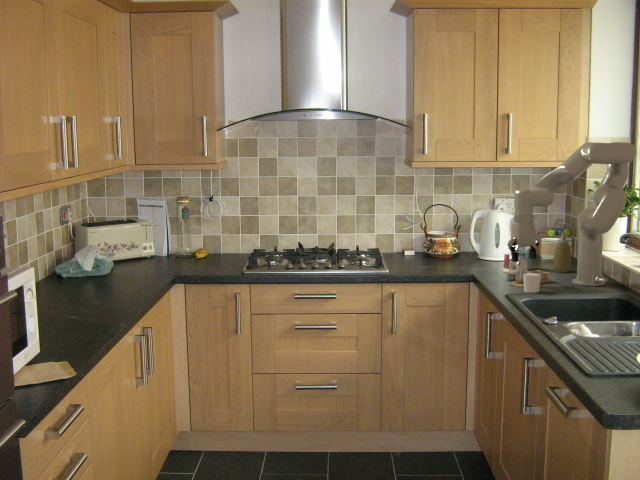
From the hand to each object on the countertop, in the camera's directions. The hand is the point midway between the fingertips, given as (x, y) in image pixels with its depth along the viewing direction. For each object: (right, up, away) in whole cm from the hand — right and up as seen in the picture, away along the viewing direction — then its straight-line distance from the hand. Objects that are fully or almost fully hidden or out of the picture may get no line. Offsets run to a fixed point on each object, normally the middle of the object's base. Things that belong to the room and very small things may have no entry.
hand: (524, 260), depth 298 cm
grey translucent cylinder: (-1, -10, +2) cm, 10 cm away
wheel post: (-1, -9, +11) cm, 14 cm away
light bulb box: (+8, -6, +33) cm, 35 cm away
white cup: (0, -12, -10) cm, 16 cm away
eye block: (+8, -9, +8) cm, 15 cm away
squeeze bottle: (+25, -6, +29) cm, 39 cm away
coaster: (-1, -10, +1) cm, 10 cm away
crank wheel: (-2, -6, +11) cm, 12 cm away
